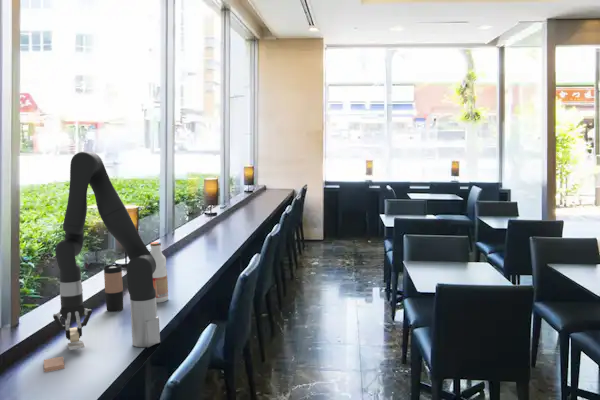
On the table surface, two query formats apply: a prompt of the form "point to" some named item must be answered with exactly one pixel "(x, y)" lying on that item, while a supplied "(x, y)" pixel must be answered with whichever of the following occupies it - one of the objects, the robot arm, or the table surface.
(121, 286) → the travel mug
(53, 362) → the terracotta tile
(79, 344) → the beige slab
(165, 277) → the fruit juice
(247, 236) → the table surface
